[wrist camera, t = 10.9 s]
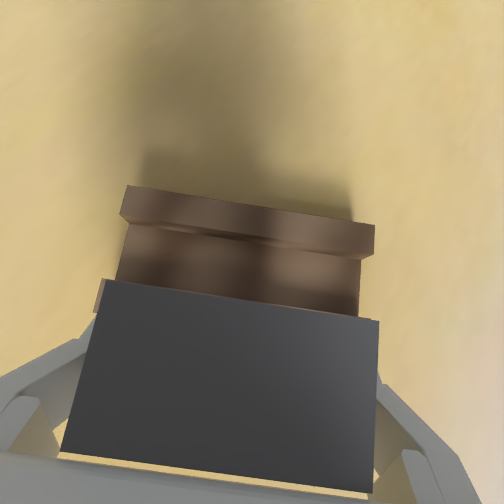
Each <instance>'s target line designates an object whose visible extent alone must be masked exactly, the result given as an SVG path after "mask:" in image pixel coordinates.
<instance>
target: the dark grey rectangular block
mask: <svg viewBox="0 0 504 504" xmlns="http://www.w3.org/2000/svg"><path fill="white" fill-rule="evenodd" d="M378 341H379V321H375V320H369V319H362V318H356V317H349V316H342V315H336V314H329V313H323V312H316V311H310V310H303V309H297V308H290V307H284V306H277V305H271V304H264V303H258V302H251V301H245V300H238V299H231V298H225V297H218V296H212V295H205V294H199V293H192V292H186V291H179V290H173V289H166V288H160V287H153V286H147V285H140V284H134V283H127V282H120V281H114V280H107V279H106V282H105V286H104V289H103V293H102V297H101V300H100V304H99V308H98V312H97V315H96V319H95V323H94V326H93V330H92V334H91V337H90V341H89V345H88V348H87V352H86V356H85V359H84V363H83V367H82V371H81V374H80V378H79V382H78V385H77V389H76V393H75V396H74V400H73V404H72V407H71V411H70V415H69V418H68V422H67V426H66V430H65V433H64V437H63V441H62V444H61V448H60V452H68V453H75V454H82V455H90V456H97V457H104V458H112V459H119V460H126V461H134V462H141V463H148V464H156V465H163V466H170V467H178V468H185V469H193V470H200V471H207V472H215V473H222V474H229V475H237V476H244V477H251V478H259V479H266V480H273V481H281V482H288V483H296V484H303V485H310V486H318V487H325V488H332V489H340V490H347V491H354V492H362V493H369V494H373V471H374V445H375V419H376V393H377V367H378Z"/></svg>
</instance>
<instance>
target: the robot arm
mask: <svg viewBox="0 0 504 504" xmlns="http://www.w3.org/2000/svg"><path fill="white" fill-rule="evenodd" d="M95 319H96V316H95V318H94V319H93V320H92V322H91V323H90V324H89V326H88V327H87V328H86V330H85V331H84V332H83V334H82V335H81V336H80V338H79V339H72V340H70V341H68V342H66V343H64V344H62V345H60V346H59V347H57V348H55V349H53V350H51V351H49V352H47V353H45V354H43V355H42V356H40V357H38V358H36V359H34V360H32V361H30V362H28V363H26V364H25V365H23V366H21V367H19V368H17V369H15V370H13V371H11V372H9V373H8V374H6V375H4V376H2V377H0V504H482V503H481V501H480V499H479V497H478V495H477V493H476V491H475V489H474V487H473V485H472V483H471V481H470V479H469V477H468V475H467V473H466V471H465V469H464V467H463V465H462V463H461V461H460V459H459V457H458V455H457V454H456V453H455V452H454V451H453V450H452V449H451V448H450V447H449V446H448V445H447V444H446V443H445V442H444V441H443V440H442V439H441V438H440V437H439V436H438V435H437V434H436V433H435V432H434V431H433V430H432V429H431V428H430V427H429V426H428V425H427V424H426V423H425V422H424V421H423V420H422V419H421V418H420V417H419V416H418V415H417V414H416V413H415V412H414V411H413V410H412V409H411V408H410V407H409V406H408V405H407V404H406V403H405V402H404V401H403V400H402V399H401V398H400V397H399V396H398V395H397V394H396V393H395V392H394V391H393V390H392V389H391V388H390V387H389V386H388V385H387V384H382V381H381V379H380V376H379V373H378V371H377V393H376V419H375V445H374V468H375V470H376V472H377V473H378V475H379V477H378V479H377V480H376V481H375V482H374V483H373V494H369V493H367V496H368V500H365V499H358V498H350V497H343V496H336V495H328V494H321V493H313V492H306V491H299V490H291V489H284V488H276V487H269V486H262V485H254V484H247V483H239V482H232V481H225V480H217V479H210V478H202V477H195V476H188V475H180V474H173V473H165V472H158V471H151V470H143V469H136V468H128V467H121V466H113V465H106V464H99V463H91V462H84V461H76V460H69V459H61V458H56V457H57V455H58V454H59V452H60V448H59V444H58V442H57V440H56V437H55V435H54V433H53V430H54V429H55V428H56V427H57V426H59V425H60V424H61V423H62V422H63V421H65V420H66V419H67V418H68V417H69V415H70V411H71V407H72V404H73V400H74V396H75V393H76V389H77V385H78V382H79V378H80V374H81V371H82V367H83V363H84V359H85V356H86V352H87V348H88V345H89V341H90V337H91V334H92V330H93V326H94V323H95Z"/></svg>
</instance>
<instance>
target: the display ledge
mask: <svg viewBox="0 0 504 504" xmlns="http://www.w3.org/2000/svg"><path fill="white" fill-rule="evenodd" d="M120 215H121V216H122V217H123V218H124V219H125V220H126V221H127V222H128V223H130V224H129V228H128V232H127V235H126V239H125V243H124V247H123V251H122V255H121V259H120V262H119V266H118V270H117V274H116V278H115V280H114V281H120V282H127V283H134V284H140V285H147V286H153V287H160V288H166V289H173V290H179V291H186V292H192V293H199V294H205V295H212V296H218V297H225V298H231V299H238V300H245V301H251V302H258V303H264V304H271V305H277V306H284V307H290V308H297V309H303V310H310V311H316V312H323V313H329V314H336V315H342V316H349V317H356V318H362V317H358V311H359V292H360V274H361V260H362V259H364V258H367V257H369V256H371V255H373V254H374V235H375V225H371V224H365V223H358V222H352V221H346V220H340V219H334V218H327V217H321V216H315V215H309V214H303V213H296V212H290V211H284V210H278V209H272V208H265V207H259V206H253V205H247V204H241V203H234V202H228V201H222V200H216V199H210V198H203V197H197V196H191V195H185V194H179V193H172V192H166V191H160V190H154V189H148V188H141V187H135V186H129V185H127V188H126V192H125V195H124V199H123V203H122V206H121V210H120ZM107 280H110V279H107ZM105 282H106V279H103V278H102V280H101V284H100V287H99V291H98V295H97V298H96V302H95V306H94V310H93V313H97V312H98V308H99V304H100V300H101V297H102V293H103V289H104V286H105ZM362 319H369V318H362ZM369 320H371V319H369Z"/></svg>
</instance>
